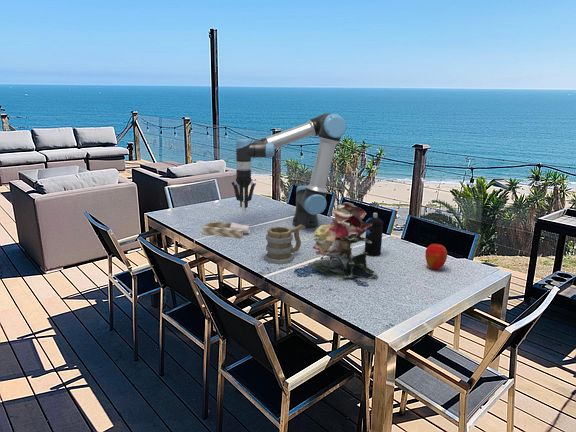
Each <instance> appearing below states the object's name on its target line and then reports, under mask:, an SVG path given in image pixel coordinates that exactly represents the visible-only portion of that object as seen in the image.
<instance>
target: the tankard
mask: <svg viewBox="0 0 576 432" xmlns="http://www.w3.org/2000/svg"><path fill="white" fill-rule="evenodd" d="M300 230H306V228H305V226H303V225H301V224H300V225H299V226H297V227H296V226H294V227H293V228H289V227H286V226H273V227H270V228H269V229H267V234H266V236H265V240H266V241H267V244H266V245H265V251H267V253H265V255H264V256H263V257H264V260H266V262H268V263H269V264H270V263H271V264H276V265H282V264H283V265H284V264H290V263H291V262H292V261H293V260H294V259H295V255H294V254H295V253H296V252H299V250H300V248H301V246H302V241H301V238H300ZM293 239H294V240H295V246H293V244H292V241H293ZM292 253H294V254H292Z"/></svg>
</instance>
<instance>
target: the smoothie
mask: <svg viewBox="0 0 576 432" xmlns="http://www.w3.org/2000/svg"><path fill="white" fill-rule="evenodd" d="M230 223H231V226H230V228H228V229H238V230H243V234H250V232H251V226H250V225H249V226H246V225H247V224H245V225H242V223H237V222H233V221H232V222H230Z"/></svg>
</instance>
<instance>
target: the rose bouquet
mask: <svg viewBox="0 0 576 432" xmlns="http://www.w3.org/2000/svg"><path fill="white" fill-rule="evenodd" d="M332 212H333V214H334V216H335V218H332V222H331V224H330V223H328V224H321V225H320V226H319V227H317V228H316V229H315V230H314V232H313V233H314V235H313V237H314V239H313V241H314V242H315V243H314V245H313V246H312V249H314V250H315V254H316V255H318V256H320V258H319V259H315V260H314V261H313V263H312V264H311V267H312V268H313V269H314V270H316V271H318V272H322V273H323V274H324V275H325V276H326V278H330V276H332V277H334V278H336V280H338V281H342V282H343V281H345V279H357V278H359V276H358V275H355V274H353V269H355V270H359V271H364V272H365V273H366V274H369V275H370V276H368V279H375V280H376V279H378V278H379V276H378V274H375V271H374V270H373V269H371V268H370V267H368V266H367V255H366V254H367V253H364V252H362V253H359V254H358V255H355V256H353V254H352V248H353V247H351V246H352V244H355V243H359V242H364V243H365V242H368V243H372V242H371V241H370V240H368V239H367V238H365V237H363V236H362V235H363V234H365V233H366V229H367V228H368V227H369V226H372V224H371V223H366V221H363V219H364V218H365V216H366V215H367V212H366V211H365V210H364V209H362V208H361V207H358V206H357V205H354V203H351V202H346V201H345V202H343V203H338V204H337V206H336V208H335V209H332ZM368 233H371V232H368ZM325 256H326V257H329V259H326V260H324V259H325ZM336 259H337V260H336ZM342 268H343V269H342Z"/></svg>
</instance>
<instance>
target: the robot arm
mask: <svg viewBox="0 0 576 432" xmlns="http://www.w3.org/2000/svg"><path fill="white" fill-rule="evenodd" d="M346 130H347V122H346V121H345V119H344V117H343V116H341V115H339V114H337V113H329V112H328V113H327V112H326V113H323V114H320V115H318V116H316V117H313V118H311V119H308V121H307V122H305V123H302V124H300V125H297V126H294V127H291V128H288V129H286V130H283V131H280V132H277V133H274V134H272V135H268V136H266V137H262V138H259V139H255V140H253V141H251V139H250V138H238V139H237V140H236V143H235V144H236V146H235V156H236V157H235V158H236V159H235V162H236V165H235V166H236V168H235V169H236V178H235V180H234V181H232V182H231V185H232V186H233V191H234V194H235V199H236V200H237V201H239V206H240V208H241V215H246V214H247V208H249V207H248V206H249V202H250V201H252V199H253V194H254V190H255V187H256V185H257V183H256V182H254V181H253V180H252V159H254V158H262V159H263V158H264V159H265V158H273V157H274V156H275V150H276V149H279V148H281V147H285V146H287V145H289V144H292V143H296V142H298V141H301V140H304V139H307V138H309V137H314V138H315V137H318V140H319V144H318V149H317V153H316V157H315V160H314V163H313V164H314V165H313V170H312V173H311V177H310V182H309V184H308V185H298V186H296V191H295V193H296V194H295V195H296V196H295V213H294V215H293V219H292V226H294V227H297V226H299V225H300V224H301V225H303V226H305V229H312V228H316V227H318V226H319V219H318V215H321V214H322V213H323V212H324V211H325V210H326V209H327V205H328V203H327V199H326V196H327V193H328V191H327V188H326V186H327V181H328V177H329V173H330V170H331V166H332V161H333V157H334V154H335V151H336V150H335V149H336V147H337V145H338V144H339V143H340V141H341V139H342V136H343V135H344V134H345V132H346ZM238 186H239V187H238ZM249 186H250V188H249Z"/></svg>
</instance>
